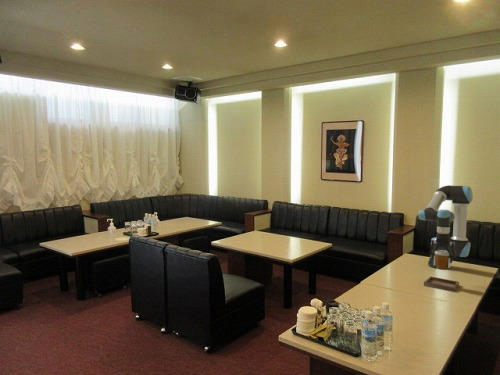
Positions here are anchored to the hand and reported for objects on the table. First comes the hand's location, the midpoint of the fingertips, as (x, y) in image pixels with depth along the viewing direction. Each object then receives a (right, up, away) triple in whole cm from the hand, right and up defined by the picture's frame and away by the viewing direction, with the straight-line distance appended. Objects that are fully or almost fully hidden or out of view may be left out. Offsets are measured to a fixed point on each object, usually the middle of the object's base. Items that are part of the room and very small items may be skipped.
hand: (441, 266), depth 239 cm
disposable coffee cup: (0, -2, 0) cm, 2 cm away
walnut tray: (0, -13, +1) cm, 13 cm away
